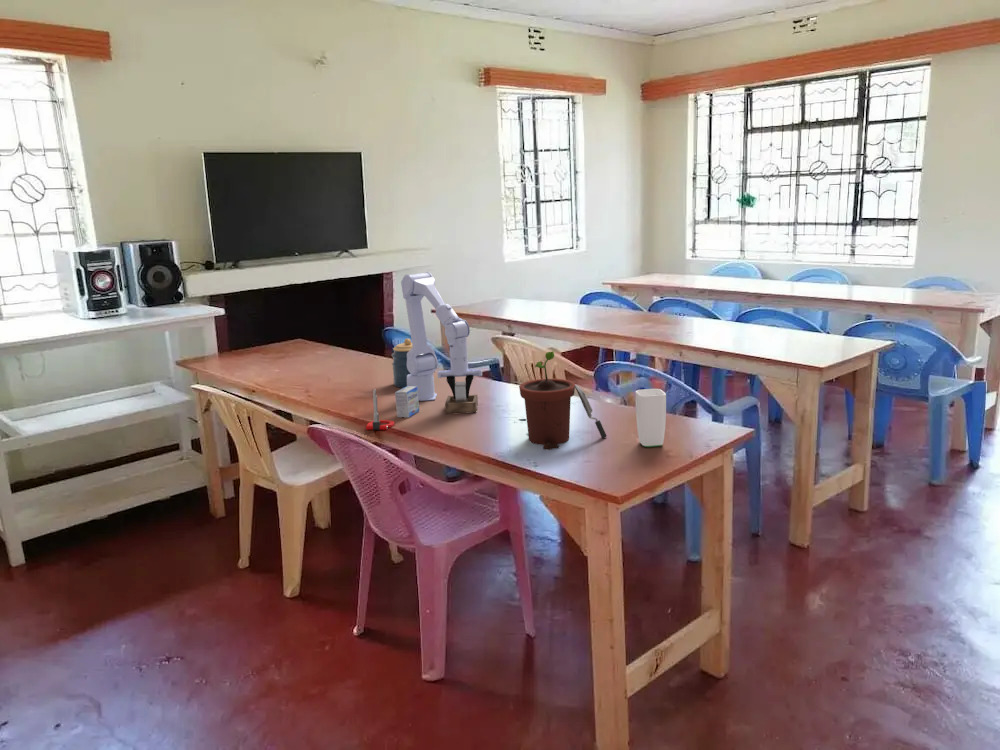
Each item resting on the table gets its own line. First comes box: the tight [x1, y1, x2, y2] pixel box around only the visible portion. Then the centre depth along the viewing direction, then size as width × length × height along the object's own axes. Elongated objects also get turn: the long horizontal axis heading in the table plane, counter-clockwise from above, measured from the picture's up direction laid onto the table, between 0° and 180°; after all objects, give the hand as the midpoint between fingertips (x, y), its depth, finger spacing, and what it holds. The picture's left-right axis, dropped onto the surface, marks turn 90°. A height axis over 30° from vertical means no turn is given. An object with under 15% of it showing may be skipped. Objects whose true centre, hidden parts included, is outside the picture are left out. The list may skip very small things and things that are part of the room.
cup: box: [635, 388, 667, 448], centre depth 214 cm, size 7×7×15 cm
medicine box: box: [394, 386, 420, 419], centre depth 256 cm, size 8×4×9 cm, turn 160°
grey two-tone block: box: [455, 381, 468, 402], centre depth 259 cm, size 4×5×7 cm
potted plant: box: [518, 350, 607, 451], centre depth 221 cm, size 18×22×25 cm
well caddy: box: [444, 394, 479, 415], centre depth 260 cm, size 10×10×4 cm
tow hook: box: [365, 388, 396, 431], centre depth 245 cm, size 8×13×9 cm
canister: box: [391, 338, 424, 388], centre depth 296 cm, size 13×13×18 cm
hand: (461, 397), depth 259 cm, fingers closed on grey two-tone block, 3 cm apart
